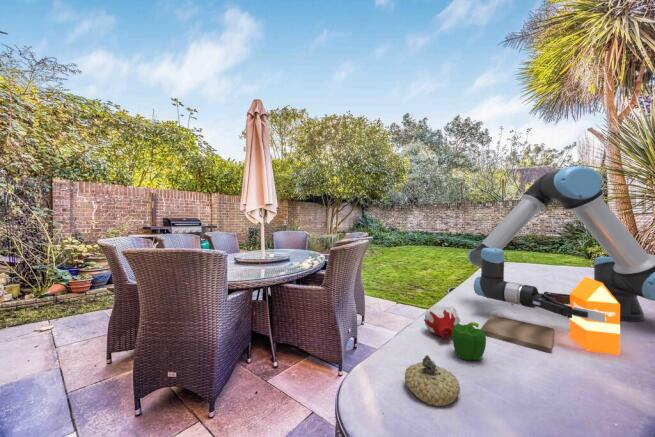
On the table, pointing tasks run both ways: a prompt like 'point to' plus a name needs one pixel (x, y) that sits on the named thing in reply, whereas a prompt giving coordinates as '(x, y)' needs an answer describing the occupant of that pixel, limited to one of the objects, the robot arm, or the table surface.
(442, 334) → the white red rounded lump
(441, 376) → the acorn cap
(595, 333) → the orange juice
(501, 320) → the board
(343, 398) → the table surface
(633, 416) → the table surface
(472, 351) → the bell pepper
